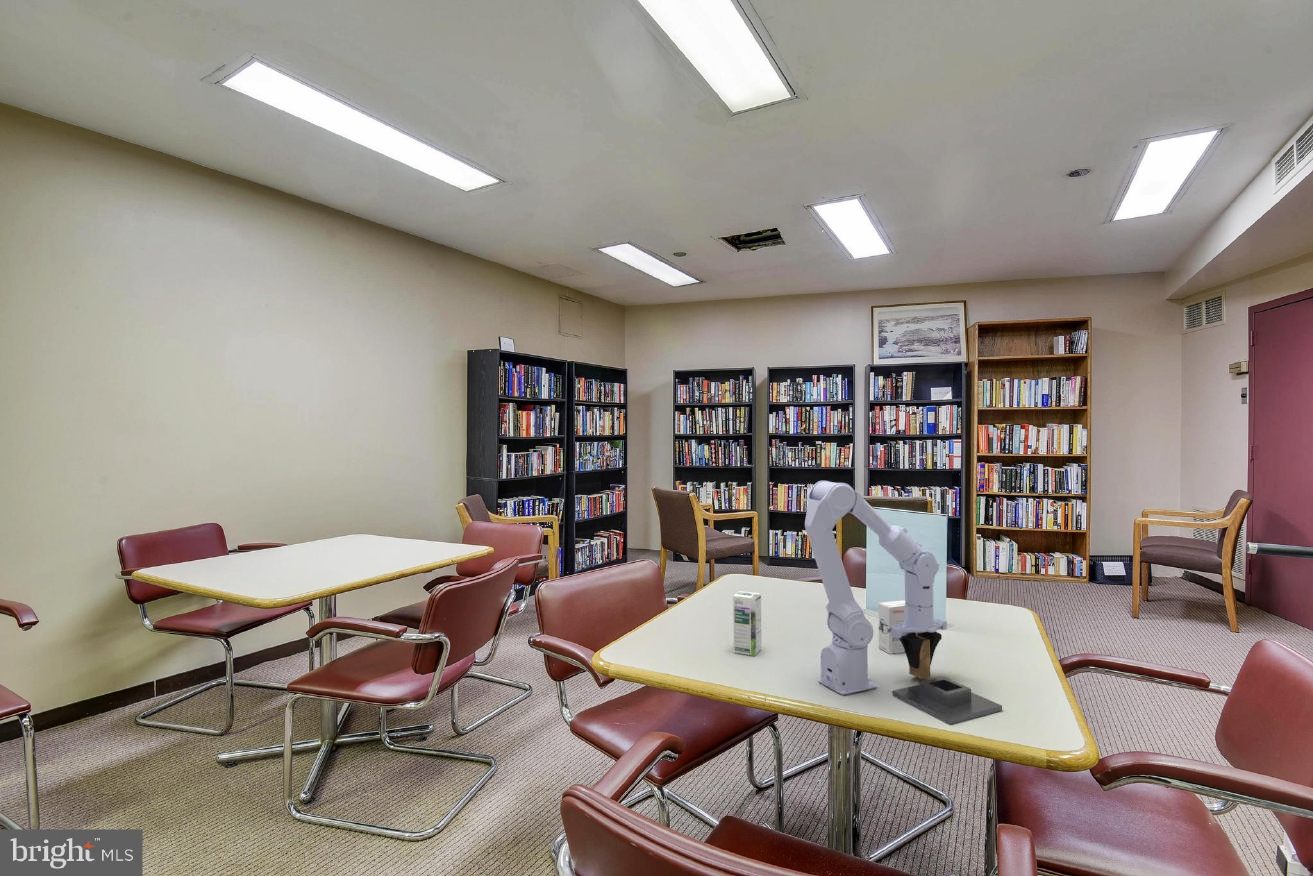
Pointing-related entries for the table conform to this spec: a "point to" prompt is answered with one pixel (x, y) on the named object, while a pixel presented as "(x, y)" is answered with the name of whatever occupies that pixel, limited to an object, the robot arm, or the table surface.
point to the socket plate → (947, 700)
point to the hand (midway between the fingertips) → (919, 665)
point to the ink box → (890, 625)
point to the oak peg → (922, 661)
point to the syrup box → (747, 622)
